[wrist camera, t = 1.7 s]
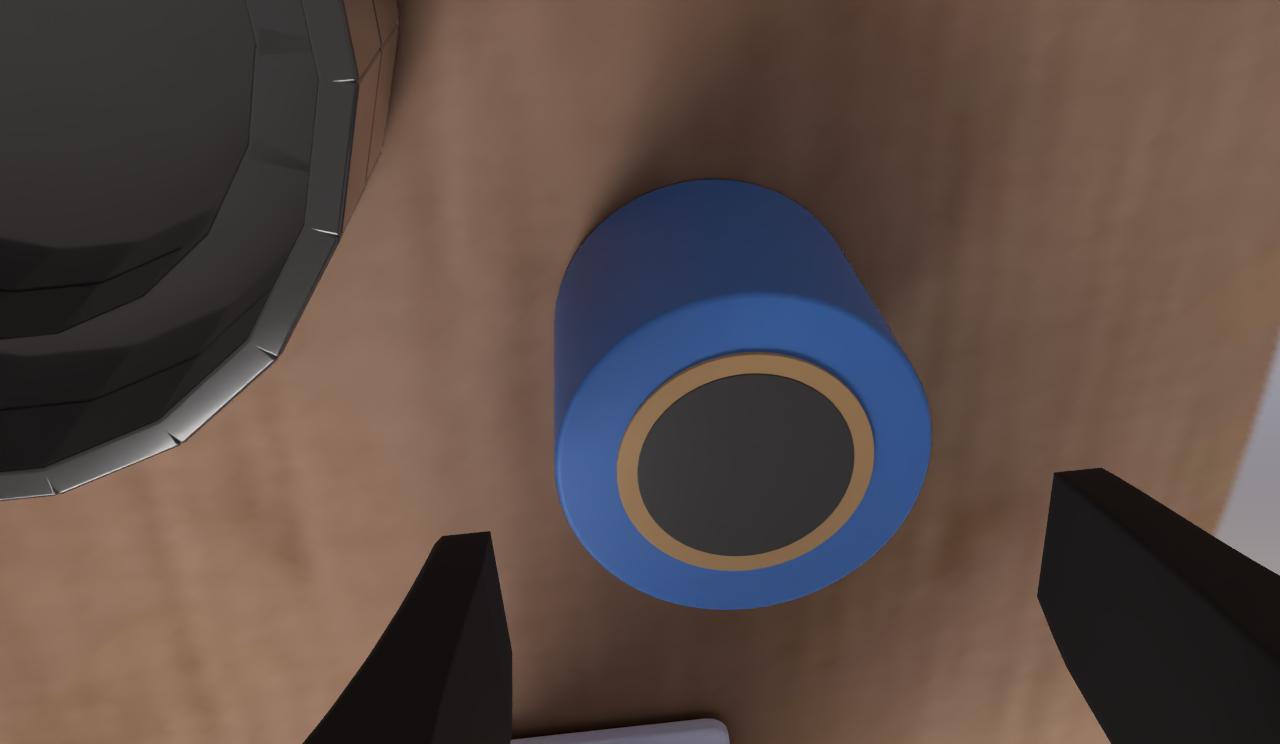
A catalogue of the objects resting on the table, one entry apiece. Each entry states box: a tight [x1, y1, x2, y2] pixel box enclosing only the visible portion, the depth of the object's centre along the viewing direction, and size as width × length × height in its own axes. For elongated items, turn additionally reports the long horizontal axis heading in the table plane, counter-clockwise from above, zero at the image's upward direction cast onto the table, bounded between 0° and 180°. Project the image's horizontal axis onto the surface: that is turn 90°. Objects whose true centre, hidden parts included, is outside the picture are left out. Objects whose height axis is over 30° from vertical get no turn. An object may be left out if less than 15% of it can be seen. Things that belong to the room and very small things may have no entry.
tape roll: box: [554, 179, 932, 610], centre depth 18 cm, size 6×6×5 cm
